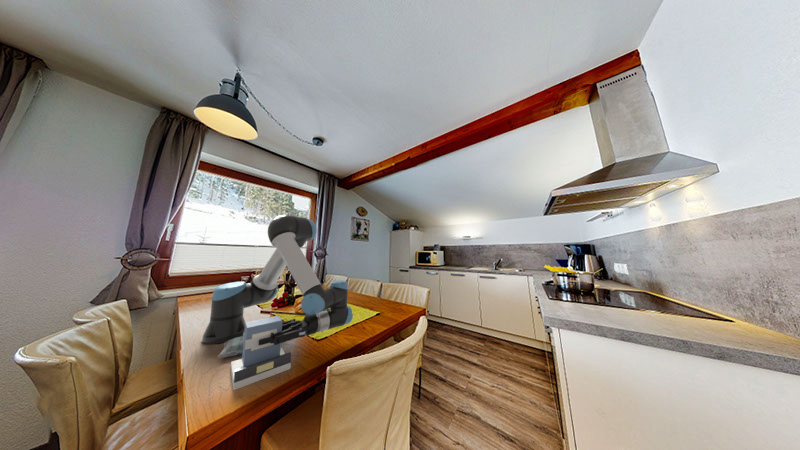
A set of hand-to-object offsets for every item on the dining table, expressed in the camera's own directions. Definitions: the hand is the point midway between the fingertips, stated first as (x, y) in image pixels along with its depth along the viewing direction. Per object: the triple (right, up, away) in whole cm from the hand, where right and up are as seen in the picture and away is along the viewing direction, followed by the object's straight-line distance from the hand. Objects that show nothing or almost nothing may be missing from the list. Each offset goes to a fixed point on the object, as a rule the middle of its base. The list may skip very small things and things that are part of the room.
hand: (244, 340), depth 65 cm
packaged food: (-14, -12, +12) cm, 22 cm away
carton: (+4, -7, +3) cm, 9 cm away
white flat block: (+4, -11, +2) cm, 12 cm away
